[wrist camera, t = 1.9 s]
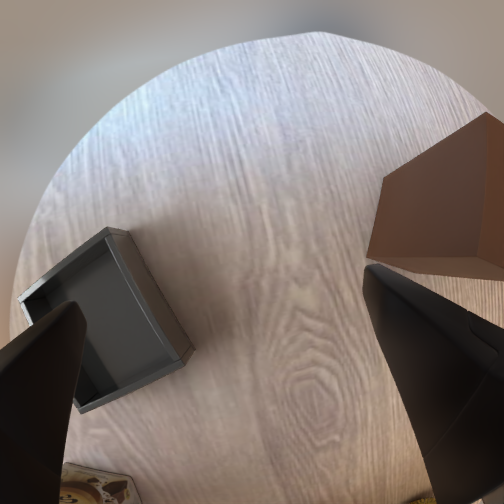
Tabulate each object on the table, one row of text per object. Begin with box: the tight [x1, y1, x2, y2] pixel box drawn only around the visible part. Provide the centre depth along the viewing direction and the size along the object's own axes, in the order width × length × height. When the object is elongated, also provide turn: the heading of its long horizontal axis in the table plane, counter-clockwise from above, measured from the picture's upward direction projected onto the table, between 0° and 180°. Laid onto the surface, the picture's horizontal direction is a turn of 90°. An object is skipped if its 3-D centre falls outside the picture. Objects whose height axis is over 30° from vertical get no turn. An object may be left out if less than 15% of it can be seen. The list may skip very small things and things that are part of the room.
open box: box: [18, 227, 196, 414], centre depth 22 cm, size 11×11×4 cm
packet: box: [366, 112, 504, 281], centre depth 17 cm, size 7×5×14 cm
